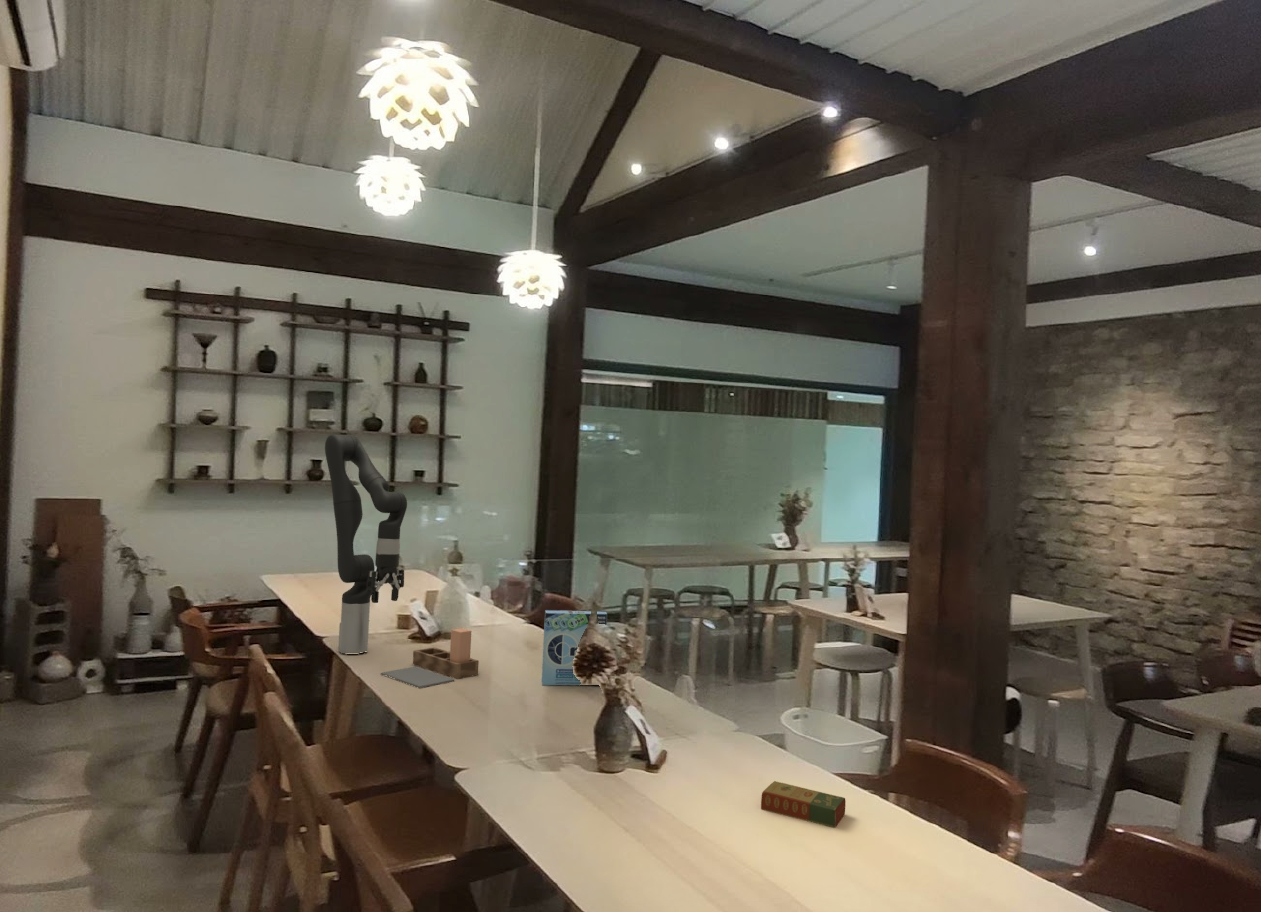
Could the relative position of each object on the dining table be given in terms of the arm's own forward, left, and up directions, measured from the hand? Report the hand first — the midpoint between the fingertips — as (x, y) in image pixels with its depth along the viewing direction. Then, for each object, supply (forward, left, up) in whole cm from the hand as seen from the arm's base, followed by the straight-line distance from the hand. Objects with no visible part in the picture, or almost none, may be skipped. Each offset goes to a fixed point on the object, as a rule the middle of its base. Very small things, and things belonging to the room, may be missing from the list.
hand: (384, 601), depth 298 cm
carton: (+159, -4, -21) cm, 161 cm away
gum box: (+58, +30, -20) cm, 69 cm away
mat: (+23, -3, -20) cm, 31 cm away
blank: (+27, +10, -20) cm, 35 cm away
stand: (+20, +10, -20) cm, 30 cm away
